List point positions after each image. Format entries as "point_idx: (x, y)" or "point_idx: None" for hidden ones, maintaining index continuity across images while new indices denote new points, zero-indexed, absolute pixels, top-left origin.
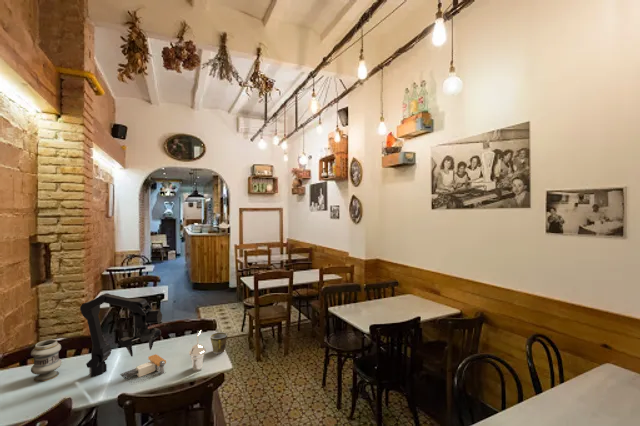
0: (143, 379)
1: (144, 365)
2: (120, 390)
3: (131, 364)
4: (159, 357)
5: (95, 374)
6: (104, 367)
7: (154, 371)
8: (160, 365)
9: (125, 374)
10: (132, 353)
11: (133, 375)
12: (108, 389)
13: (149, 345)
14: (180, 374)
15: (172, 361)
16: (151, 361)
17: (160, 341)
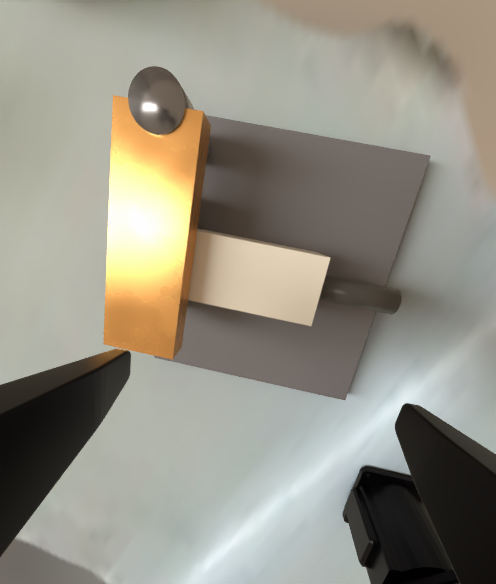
0: (324, 189)
1: (261, 282)
2: (467, 225)
3: (224, 448)
4: (117, 247)
5: (423, 506)
6: (380, 524)
7: (214, 227)
8: (192, 106)
9: (331, 367)
10: (452, 440)
11: (318, 309)
12: (482, 309)
13: (80, 432)
14: (121, 14)
15: (64, 266)
16: (189, 286)
17: None
